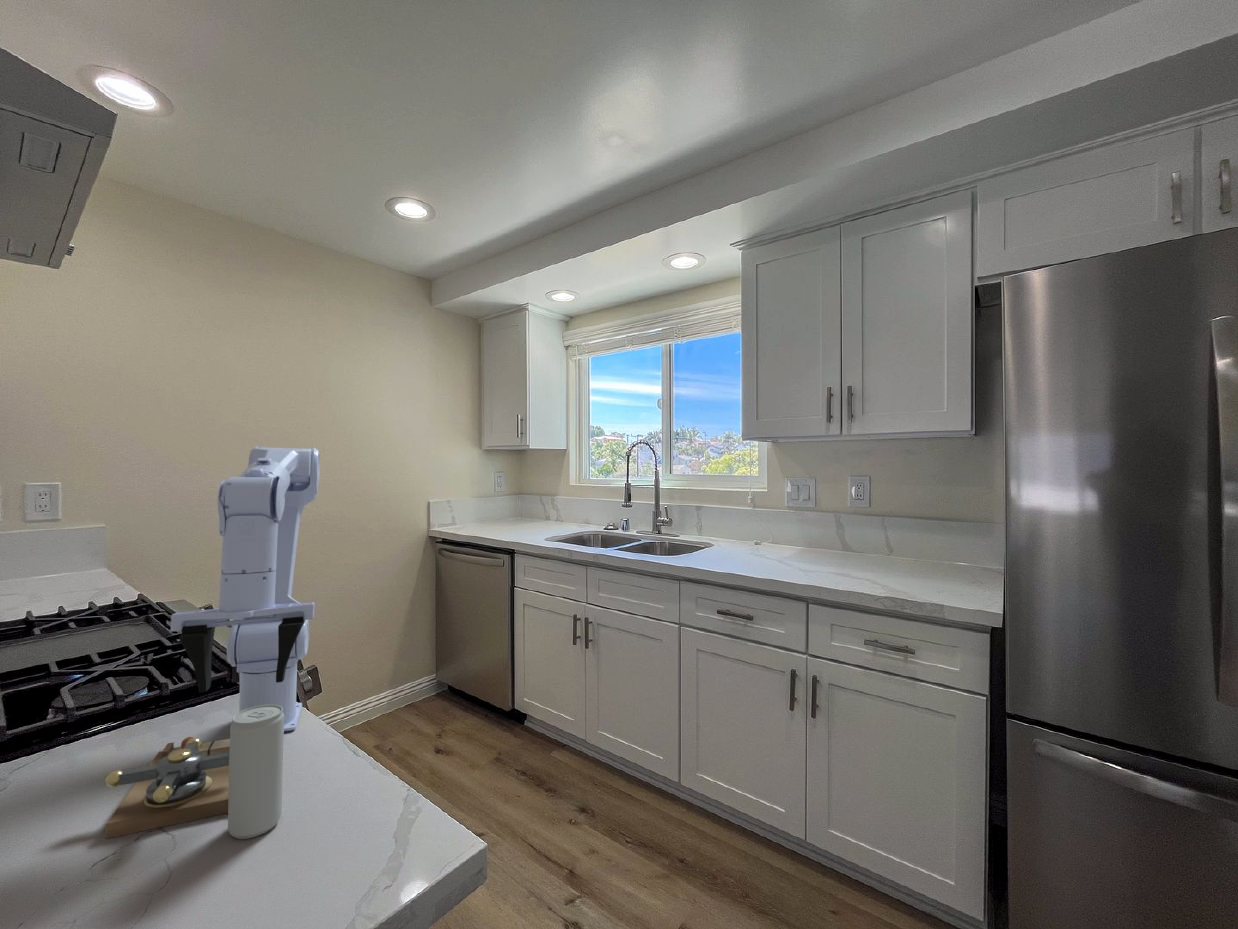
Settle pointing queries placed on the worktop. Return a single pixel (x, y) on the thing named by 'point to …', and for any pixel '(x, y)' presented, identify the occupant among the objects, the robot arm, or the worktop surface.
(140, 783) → the valve wheel board
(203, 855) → the worktop surface
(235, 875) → the worktop surface
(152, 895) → the worktop surface
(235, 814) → the beverage can
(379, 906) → the worktop surface
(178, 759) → the capstan
